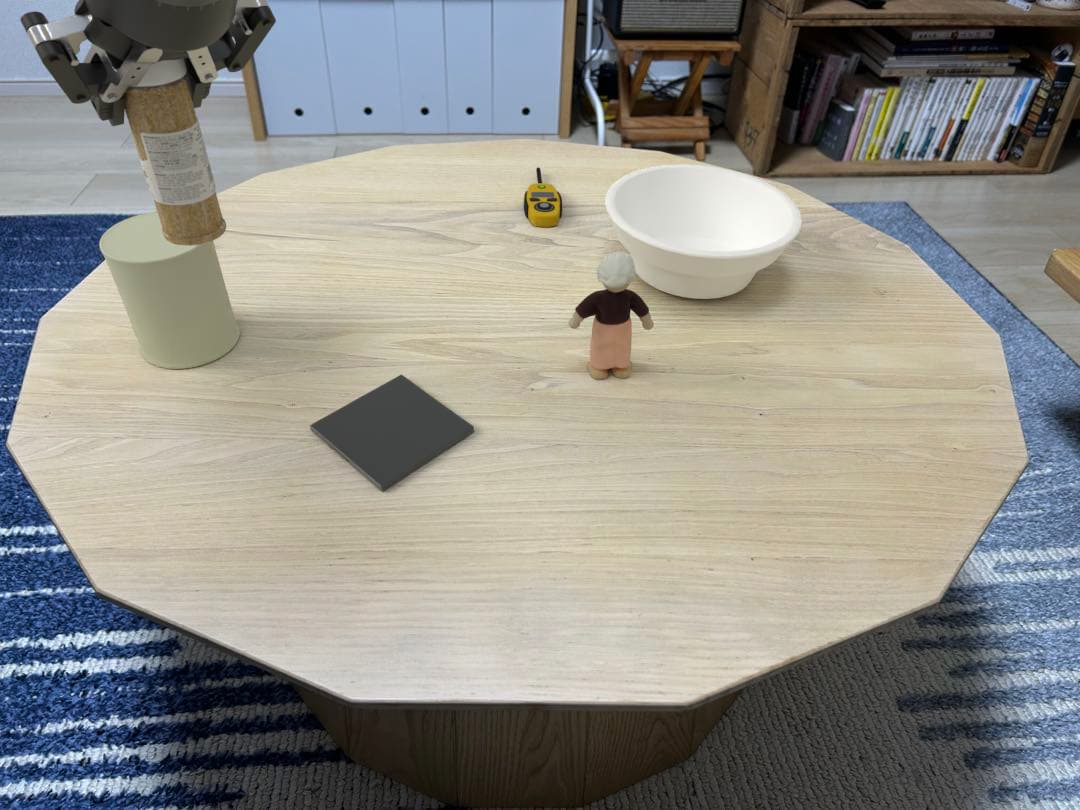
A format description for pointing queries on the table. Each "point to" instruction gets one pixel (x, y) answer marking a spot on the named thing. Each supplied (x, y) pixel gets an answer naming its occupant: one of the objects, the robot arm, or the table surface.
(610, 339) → the grandmother figurine
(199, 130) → the sprinkles bottle
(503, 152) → the table surface
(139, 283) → the can
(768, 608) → the table surface
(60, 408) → the table surface
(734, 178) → the bowl
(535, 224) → the yellow walkie talkie
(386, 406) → the slate coaster
